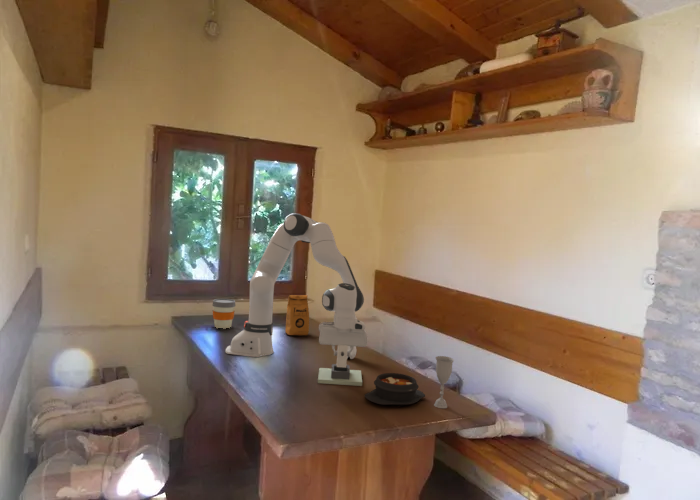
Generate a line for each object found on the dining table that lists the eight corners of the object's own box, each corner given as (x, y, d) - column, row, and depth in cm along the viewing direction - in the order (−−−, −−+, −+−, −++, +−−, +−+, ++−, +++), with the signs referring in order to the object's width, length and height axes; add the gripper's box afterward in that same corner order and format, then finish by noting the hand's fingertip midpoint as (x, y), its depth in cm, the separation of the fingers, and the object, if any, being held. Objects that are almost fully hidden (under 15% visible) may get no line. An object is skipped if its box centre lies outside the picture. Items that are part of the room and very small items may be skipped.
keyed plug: (336, 368, 221) (338, 347, 220) (336, 362, 230) (338, 341, 229) (346, 369, 221) (347, 347, 220) (346, 362, 230) (347, 342, 229)
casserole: (384, 414, 191) (386, 391, 190) (353, 397, 206) (355, 375, 205) (435, 403, 206) (437, 381, 205) (403, 388, 221) (405, 368, 220)
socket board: (317, 383, 219) (318, 372, 219) (319, 371, 235) (319, 361, 235) (362, 385, 220) (362, 375, 219) (360, 373, 236) (361, 363, 235)
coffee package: (309, 336, 296) (312, 296, 294) (287, 336, 292) (289, 296, 290) (305, 332, 305) (308, 293, 304) (284, 332, 301) (286, 293, 300)
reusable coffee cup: (209, 324, 307) (210, 298, 306) (231, 324, 312) (232, 298, 311) (213, 330, 295) (215, 302, 294) (236, 329, 301) (237, 302, 300)
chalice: (429, 401, 207) (433, 355, 205) (447, 402, 207) (451, 356, 206) (434, 409, 199) (438, 361, 198) (452, 409, 200) (456, 362, 199)
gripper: (318, 323, 221) (316, 356, 222) (368, 326, 222) (366, 359, 223) (319, 319, 228) (317, 352, 229) (368, 322, 228) (365, 355, 229)
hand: (342, 355), depth 226 cm, fingers closed on keyed plug, 4 cm apart
